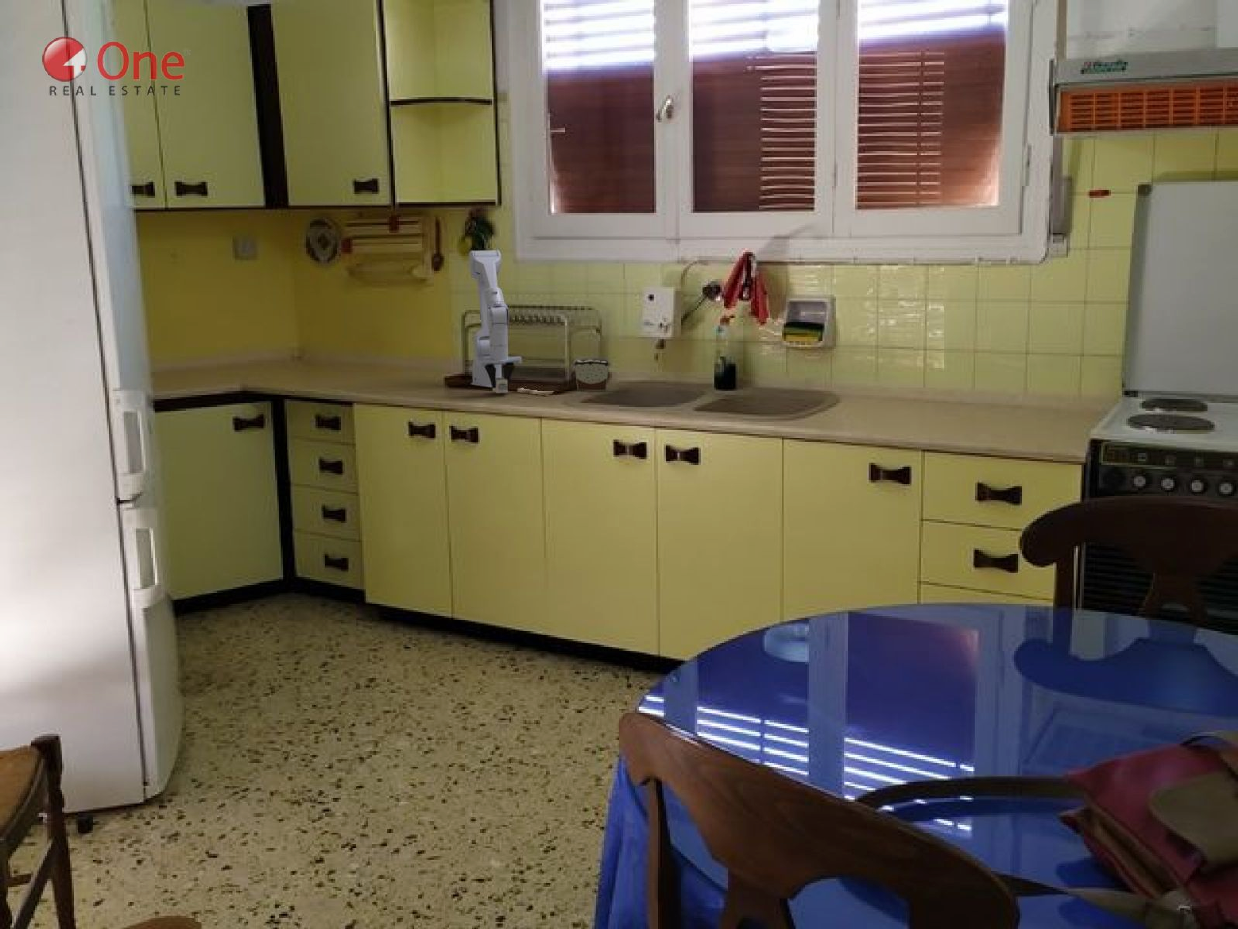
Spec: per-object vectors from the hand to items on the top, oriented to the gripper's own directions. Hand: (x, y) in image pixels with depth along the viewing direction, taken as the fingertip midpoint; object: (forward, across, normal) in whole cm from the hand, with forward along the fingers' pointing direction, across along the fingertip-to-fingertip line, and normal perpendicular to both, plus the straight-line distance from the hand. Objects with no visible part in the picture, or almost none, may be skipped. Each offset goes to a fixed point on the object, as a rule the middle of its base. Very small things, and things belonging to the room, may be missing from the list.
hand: (500, 387), depth 375 cm
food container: (+3, +30, -5) cm, 31 cm away
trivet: (+2, +14, -1) cm, 15 cm away
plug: (+2, 0, 0) cm, 2 cm away
